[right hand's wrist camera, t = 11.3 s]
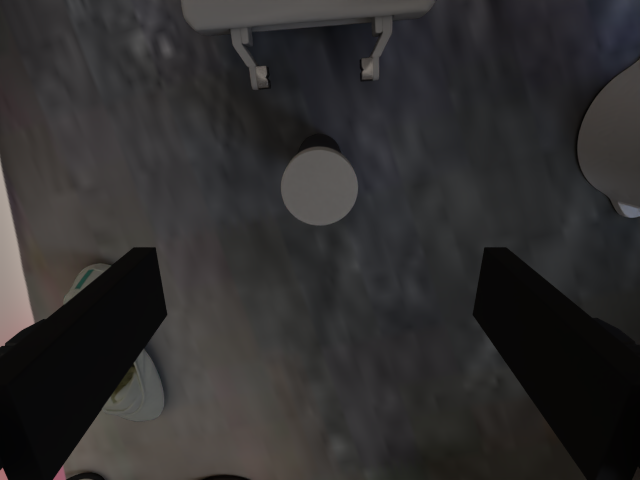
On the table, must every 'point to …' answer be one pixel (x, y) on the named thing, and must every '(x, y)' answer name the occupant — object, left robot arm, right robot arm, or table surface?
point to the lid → (319, 186)
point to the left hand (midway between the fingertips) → (315, 85)
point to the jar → (319, 142)
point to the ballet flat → (139, 382)
